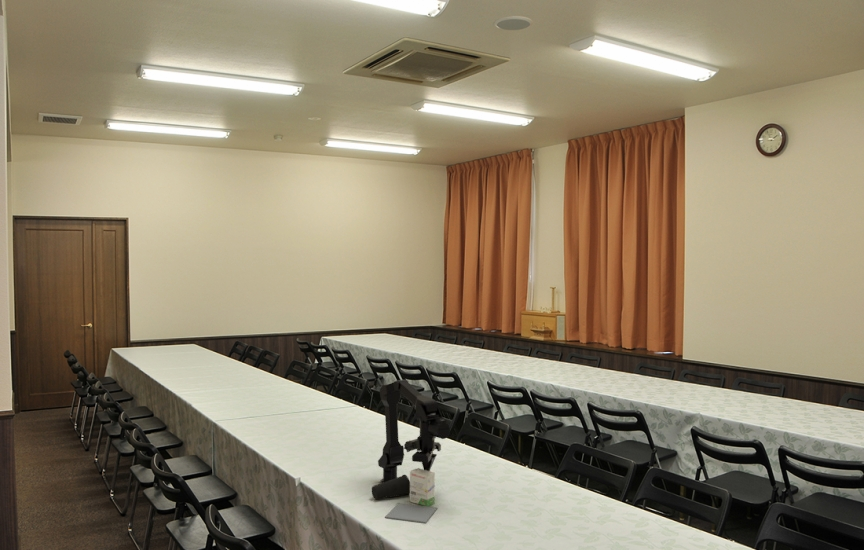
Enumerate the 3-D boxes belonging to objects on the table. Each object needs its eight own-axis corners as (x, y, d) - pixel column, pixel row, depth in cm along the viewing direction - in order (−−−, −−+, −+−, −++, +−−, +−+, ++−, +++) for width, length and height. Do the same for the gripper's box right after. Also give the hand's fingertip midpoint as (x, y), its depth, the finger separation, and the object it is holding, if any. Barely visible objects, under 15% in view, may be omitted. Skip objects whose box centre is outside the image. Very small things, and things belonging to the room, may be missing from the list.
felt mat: (398, 504, 235) (398, 502, 235) (437, 508, 231) (437, 507, 231) (384, 518, 222) (384, 516, 222) (426, 523, 217) (426, 521, 217)
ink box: (435, 503, 236) (435, 471, 236) (426, 507, 232) (427, 475, 232) (417, 498, 242) (417, 467, 242) (409, 501, 238) (409, 470, 238)
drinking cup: (369, 481, 243) (415, 469, 253) (371, 501, 243) (417, 489, 252) (377, 483, 237) (424, 472, 246) (379, 504, 236) (426, 492, 246)
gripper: (414, 426, 253) (414, 465, 253) (399, 437, 235) (398, 479, 235) (441, 428, 250) (441, 467, 250) (427, 440, 232) (427, 482, 232)
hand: (426, 474), depth 242 cm, fingers closed
